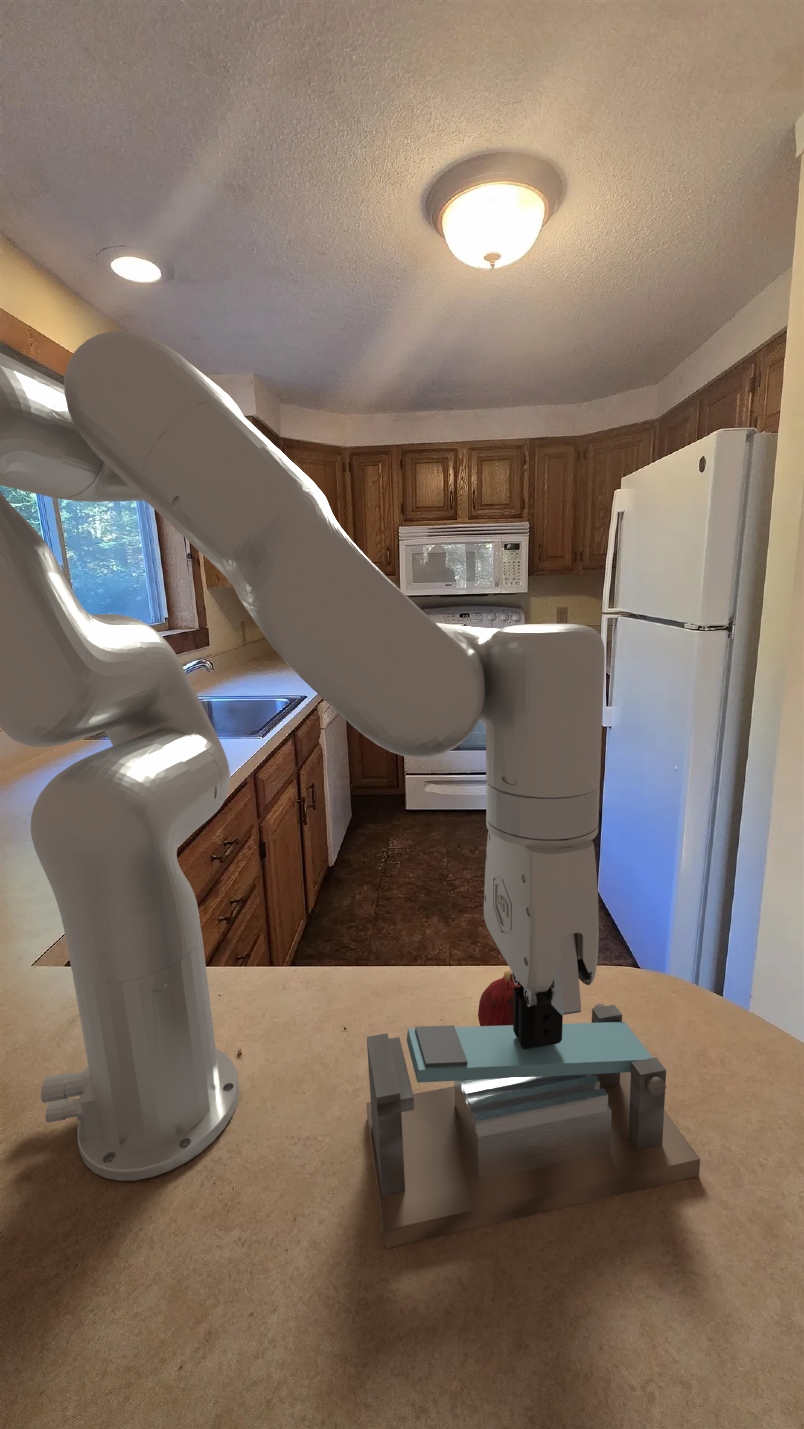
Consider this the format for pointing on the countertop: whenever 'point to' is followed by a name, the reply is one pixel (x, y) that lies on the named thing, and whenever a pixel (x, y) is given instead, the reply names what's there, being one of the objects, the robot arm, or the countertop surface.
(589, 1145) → the heat sink
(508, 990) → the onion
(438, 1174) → the clip base
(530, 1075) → the bar
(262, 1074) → the countertop surface
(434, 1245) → the countertop surface
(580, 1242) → the countertop surface
